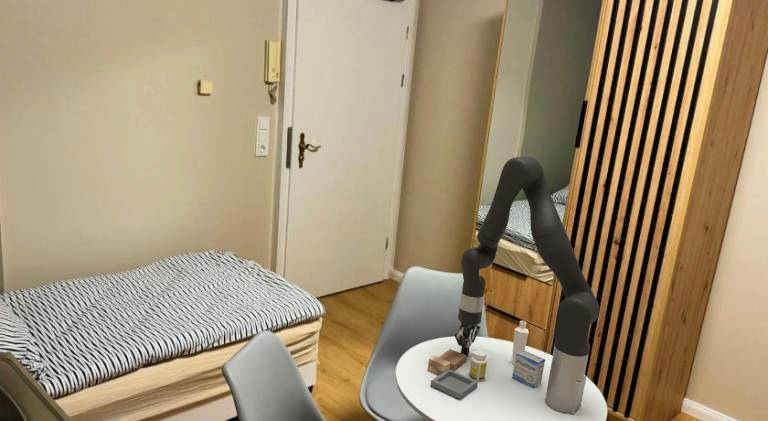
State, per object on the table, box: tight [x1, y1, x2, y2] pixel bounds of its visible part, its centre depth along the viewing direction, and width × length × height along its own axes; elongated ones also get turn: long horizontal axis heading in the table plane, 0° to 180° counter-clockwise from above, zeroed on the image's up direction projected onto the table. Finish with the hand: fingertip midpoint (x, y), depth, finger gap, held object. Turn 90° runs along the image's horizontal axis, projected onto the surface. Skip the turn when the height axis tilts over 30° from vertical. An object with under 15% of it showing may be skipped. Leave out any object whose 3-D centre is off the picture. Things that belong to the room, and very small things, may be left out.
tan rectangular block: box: [427, 355, 450, 376], centre depth 169 cm, size 6×3×4 cm, turn 52°
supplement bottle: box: [468, 349, 488, 382], centre depth 167 cm, size 5×5×8 cm
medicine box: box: [511, 350, 546, 389], centre depth 168 cm, size 8×4×9 cm, turn 47°
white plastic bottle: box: [510, 320, 530, 366], centre depth 178 cm, size 5×4×15 cm
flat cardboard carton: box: [439, 349, 467, 372], centre depth 175 cm, size 6×9×3 cm, turn 146°
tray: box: [430, 369, 479, 401], centre depth 161 cm, size 10×10×2 cm
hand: (464, 356), depth 179 cm, fingers closed
